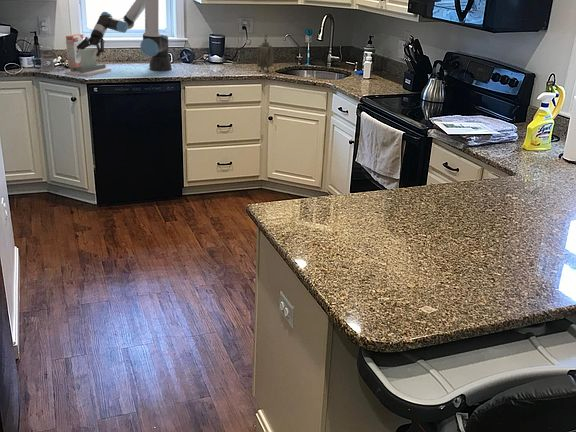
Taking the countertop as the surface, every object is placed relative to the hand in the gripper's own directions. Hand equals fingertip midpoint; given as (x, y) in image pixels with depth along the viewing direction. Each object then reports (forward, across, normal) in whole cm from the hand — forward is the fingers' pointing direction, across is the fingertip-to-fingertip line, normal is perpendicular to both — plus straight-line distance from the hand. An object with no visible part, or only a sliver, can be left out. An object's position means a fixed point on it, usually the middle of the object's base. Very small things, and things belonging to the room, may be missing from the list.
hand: (85, 59), depth 404 cm
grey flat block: (+4, 0, -8) cm, 9 cm away
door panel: (+3, 0, -7) cm, 8 cm away
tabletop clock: (-46, -95, -59) cm, 121 cm away
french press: (+11, +24, -2) cm, 26 cm away
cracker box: (-5, +20, -17) cm, 27 cm away
